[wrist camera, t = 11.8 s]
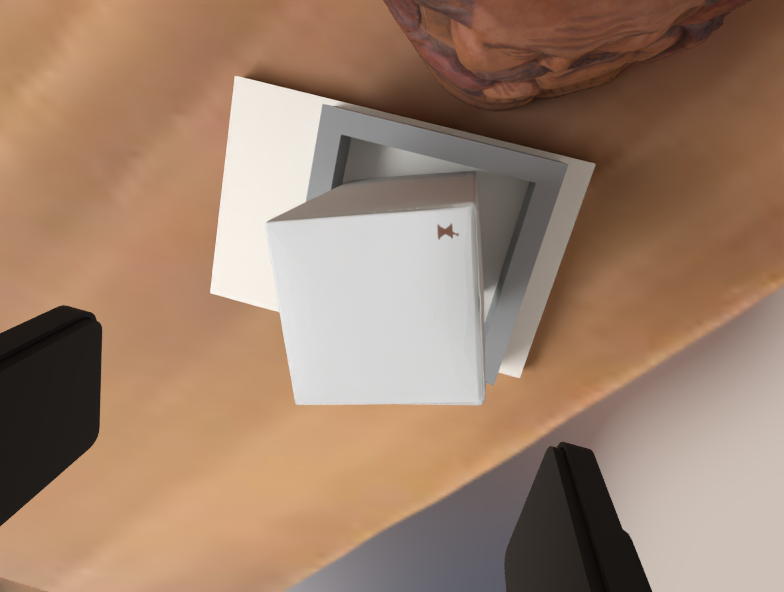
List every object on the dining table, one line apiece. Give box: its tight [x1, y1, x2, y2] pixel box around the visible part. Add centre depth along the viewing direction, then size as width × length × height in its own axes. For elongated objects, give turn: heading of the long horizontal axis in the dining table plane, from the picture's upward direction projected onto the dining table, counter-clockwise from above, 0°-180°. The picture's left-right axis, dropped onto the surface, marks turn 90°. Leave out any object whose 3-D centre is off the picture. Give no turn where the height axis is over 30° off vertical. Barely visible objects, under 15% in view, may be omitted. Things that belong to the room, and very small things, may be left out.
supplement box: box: [265, 171, 486, 405], centre depth 23 cm, size 7×7×13 cm
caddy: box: [210, 76, 596, 385], centre depth 29 cm, size 13×20×4 cm, turn 77°
